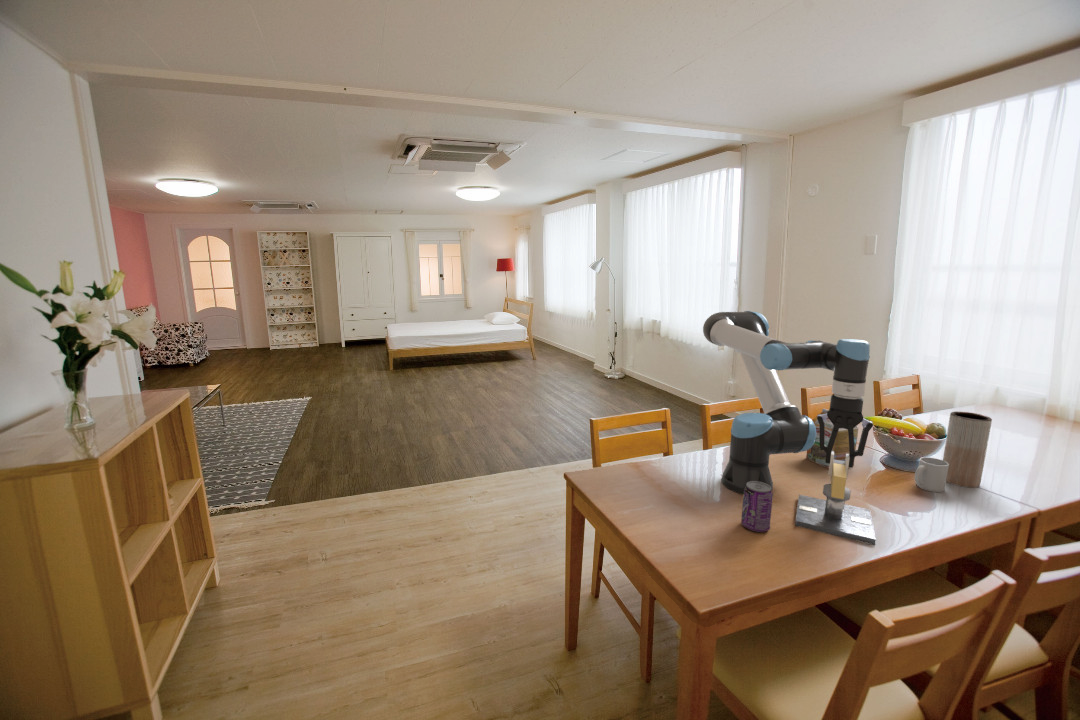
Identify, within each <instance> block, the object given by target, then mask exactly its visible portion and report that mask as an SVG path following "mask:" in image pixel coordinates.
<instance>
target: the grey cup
mask: <svg viewBox="0 0 1080 720" xmlns="http://www.w3.org/2000/svg"><path fill="white" fill-rule="evenodd" d="M918 462H919V463H918V467H917V468H916V470H915V473H914V482H915V484H916V486H917V487H918V488H919V489H922V490H925V491H928V492H932V493H942V492H944V491H945V489H946V484H947V482H946V479H947V473H948V467H949V464H948V463H947V462H945V461H943V459H939V458H937V457H936V458H935V457H929V456H924V457H923V456H922V457H919V461H918Z"/></svg>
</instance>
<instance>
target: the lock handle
mask: <svg viewBox="0 0 1080 720" xmlns="http://www.w3.org/2000/svg"><path fill="white" fill-rule="evenodd" d="M846 482H847V479H846V469H845V461H841V460H835V459H834V461H833V469H832V476H830V483H825V484H824V485H823V489H822V494H823V496H825V498H826V497H828V498H831V499H834V500H839V501H845V502H846V501H849V500H850V499H851V493H852V491H851V489H849V488H848V487H846V484H847V483H846Z"/></svg>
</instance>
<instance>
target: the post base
mask: <svg viewBox="0 0 1080 720" xmlns="http://www.w3.org/2000/svg"><path fill="white" fill-rule="evenodd" d="M825 498H826V499H822V498H816V497H812V496H807V495H803V494H798V499H797V507H796V513H795V515H796V516H795V523H794V526H795V527H800V528H802V529H803V528H804V529H807V530H811V531H816V532H820V533H823V534H829V535H832V536H836V537H841V538H844V539H849V540H852V541H857V542H861V543H865V544H869V545H874V546H875V545H876V541H877V540H876V539H877V538H876V534H875V528H874V522H873V516H872V511H871V509H868V508H866V507H865V508H864V507H860V506H854V505H851V504H846V501H839V500H834V499H831V498H828V497H826V496H825Z"/></svg>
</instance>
